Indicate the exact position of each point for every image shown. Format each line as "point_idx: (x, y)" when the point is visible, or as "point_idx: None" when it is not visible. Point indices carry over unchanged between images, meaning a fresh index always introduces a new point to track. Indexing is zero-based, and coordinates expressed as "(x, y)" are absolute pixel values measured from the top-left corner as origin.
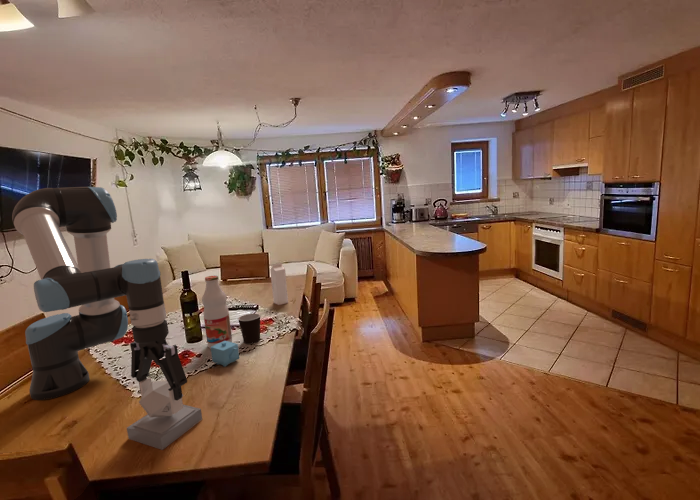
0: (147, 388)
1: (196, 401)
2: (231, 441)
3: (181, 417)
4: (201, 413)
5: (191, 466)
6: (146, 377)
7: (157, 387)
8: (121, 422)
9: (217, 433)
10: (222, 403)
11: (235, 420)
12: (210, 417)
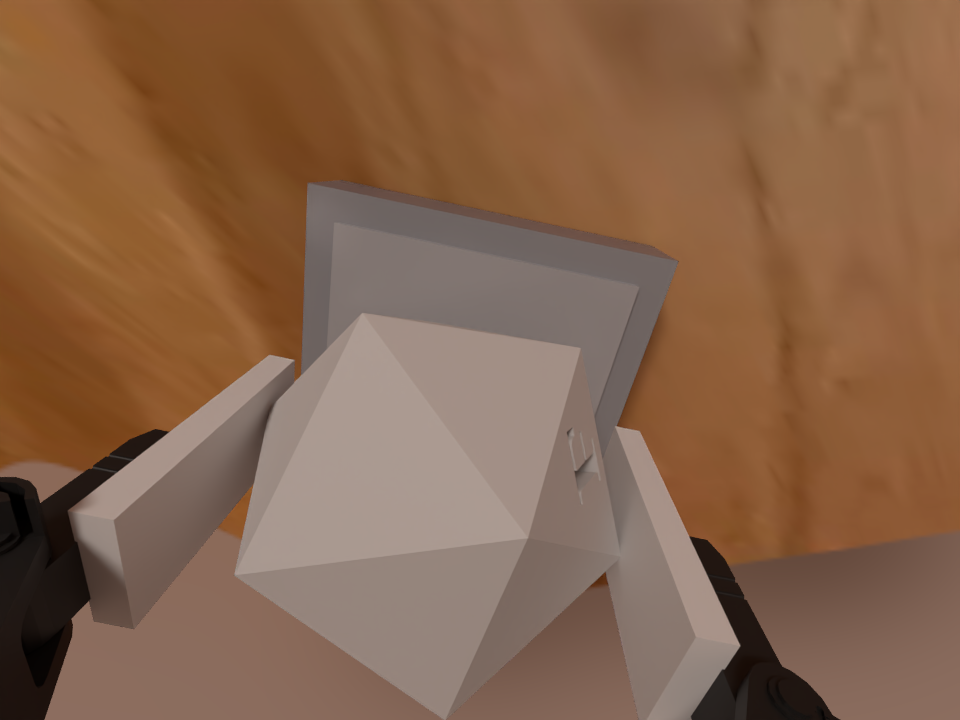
0: (208, 491)
1: (461, 11)
2: (934, 414)
3: (589, 385)
4: (665, 254)
5: (770, 557)
6: (64, 555)
7: (446, 676)
8: (141, 330)
9: (821, 363)
10: (730, 6)
11: (919, 229)
12: (704, 218)
